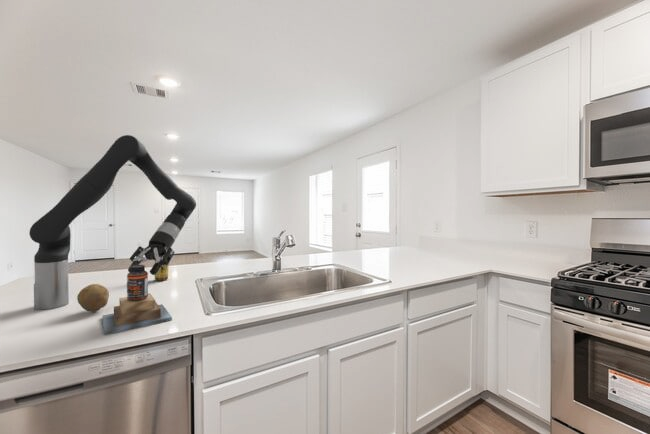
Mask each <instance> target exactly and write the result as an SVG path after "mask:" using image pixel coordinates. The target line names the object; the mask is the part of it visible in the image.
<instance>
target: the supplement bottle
mask: <svg viewBox="0 0 650 434" xmlns="http://www.w3.org/2000/svg"><path fill="white" fill-rule="evenodd" d="M145 267H146V265H145V264H139V265H133V266H131V269H130V270H131V271H130V272H129V271H128V273H127V274H126V297H127V300H129V301H138V300H143V299H145V298H147V296H148V292H149V290H148V289H149V287H148V286H149V278H148V277H149V274H148V271H146V270H145Z"/></svg>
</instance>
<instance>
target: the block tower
mask: <svg viewBox="0 0 650 434" xmlns="http://www.w3.org/2000/svg"><path fill="white" fill-rule="evenodd" d="M118 303H119V305H115V306H113V313H109V314H104V315H102V325H103V331H104V336H106V335H111V334H115V333H118V332H124V331H129V330H133V329H138V328H141V327H142V328H143V327H146V326H151V325H154V324H156V325H157V324H160V323H164V322H169V321H172V320H173V316H172V315H171V313H169V311H168V309H167V308H166V307H165V306H164V305H163V303H162V304H158V302H157V301H156V299H155V298H154V297H153V295H152V294H151V292H150V293H148V296H147V298H145V299H143V300H138V301H129V300H127V296H124V297H120V298H119V302H118Z"/></svg>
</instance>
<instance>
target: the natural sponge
mask: <svg viewBox="0 0 650 434" xmlns="http://www.w3.org/2000/svg"><path fill="white" fill-rule="evenodd" d="M109 297H110V293H109V290H108V288H107V287H106V286H104V285H102V284H97V283H94V284H93V283H92V284H89V285H87V286H85V287H84V288H82V289H81V290H80V291H79V292H78V293H77V296H76V299H77V303H78V304H79V305H80V307H81V308H82V309H83V310H84V311H87V312H88V313H95V312H96V313H97V312H98V311H100V310H101V309H102V308H104V307H105V306H107V304H108V301H109Z"/></svg>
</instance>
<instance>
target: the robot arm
mask: <svg viewBox="0 0 650 434" xmlns="http://www.w3.org/2000/svg"><path fill="white" fill-rule="evenodd" d="M127 162H130V163H132V164H133V165H134V166H135V167H137V168H138V169H139V170H140V171H141V172H142V173H143V174H144V175H145V176H146V178H148V181H150V183H151V184H152V185H153V186H154V188H155V189H156V190H157V191H158V192H159V194H161V196H162V197H163V198H165V199H166V200H168V201H169V200H170V201H172V200H173V201H175V203H176V204H175V205H174V207H173V209H172V210H171V212H170V214H168V215H167V216H166V218H165V219H164V220H163V222H162V223H161V224H160V225H159V226H158V228H157V229H156V231H155V232H154V234H153V235H152V236H151V238H150V239H149V240H148V245H147V246H146V247H142V246H141V245H139V246H138V247H137V249H136V250H135V251H134V252H133V254H132V255H131V256H130V257H129V260H130V261H131V262H132V263H131V264H130V265H129V267H128V269H127V270H128V273H129V272H130V271H131V270H130V269H131V266H133V265H142V264H143V263H145V262H147V261H155V260H156V262H157V263H155V262H154V264H153V265H152V266H151V269H150V270H149V273H150V274H151V275H152V276H155V274H156V273H157V272H158V270H159V269H160V267H161V266H163V265H168V264H169V265H170V262H171V260H172V258H173V256H174V255H175V250H174V249H173V248H172V247H173V245H174V243H175V242H176V240H177V238H178V237H179V235H180V233H181V230H183V228H184V226H185V224H186V222H187V220H189V218H190V216H191V215H192V213H193V211H194V210H195V209H196V207H197V202H196V199H195V198H194V197H193V196H192V195H191V194H189V193H188V192H186V191H185V190H183V189H182V188H180V187H179V185H177V184H176V182H175V181H174V180H173V179H172V178H171V177H170V176H169V175H168V174H167V173H166V172H165V171H164V170H163V169H162V168H160V166H159V165H158V164H157V163H156V161H155V160H154V159H153V158H152V156H151V154H150V153H149V151H148V150H147V148H146V147H145V145H144V144H143V143H142V142H141V141H140V140H139V139H138V138H137V137H135V136H133V135H131V134H130V135H129V134H127V135H126V134H125V135H122V136H120V137H118V138H117V139H116V140H115V141H114V142H113V143H112V144H111V146H110V147H109V149H108V150H107V151H106V152H105V153H104V155H103V156H101V159H99V160H98V161H97V162H96V163H95V164H94V165H93V166H92V167H91V168H90V169H89V171H87V172H86V173H85V174H84V175H83V176H82V177H81V178H80V179H79V180H78V181H77V182H76V183H75V184H74V185H73V186H72V187H71V188H70V190H68V192H67V193H66V194H65V195H64V196H63V197H62V198H61V199H60V200H59V202H57V204H56V205H54V206H53V207H52V208H51V209H50V210H49V211H48V212H46V213H45V214H44V215H42V216H41V217H40V218H39V219H38V220H36V221H35V222H34V223H33V224H32V225H31V226H30V229H29V233H28V234H29V237H30V239H31V240H32V242H34V243H37V244H39V245H38V249H37V252H36V253H35V254H34V257H33V258H34V259H33V260H34V261H33V262H34V263H33V264H34V266H33V267H34V283H33V305H34V306H33V307H34V308H33V310H34V311H37V310H50V309H56V308H61V307H65V306H67V305H68V304H69V302H70V300H69V299H70V296H69V295H70V294H69V291H70V290H69V289H70V288H69V286H70V285H69V284H70V283H69V254H70V251H71V236H72V235H71V227H70V224H72V222H74V220H75V219H76V218H77V217H78V216H80V215H81V214H83V213H85V211H87V210H90V208H91V207H93V206H94V205H96V203H98V202H99V201H101V199H102V198H103V197H104V196H105V195H106V194H107V192H109V190H110V189H111V188H112V186H113V184H114V181H115V178H116V176H117V174H118V172H119V171H120V169H122V167H123V166H124V165H125V164H126V163H127ZM163 255H164V257H163ZM166 259H167V260H166Z"/></svg>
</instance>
